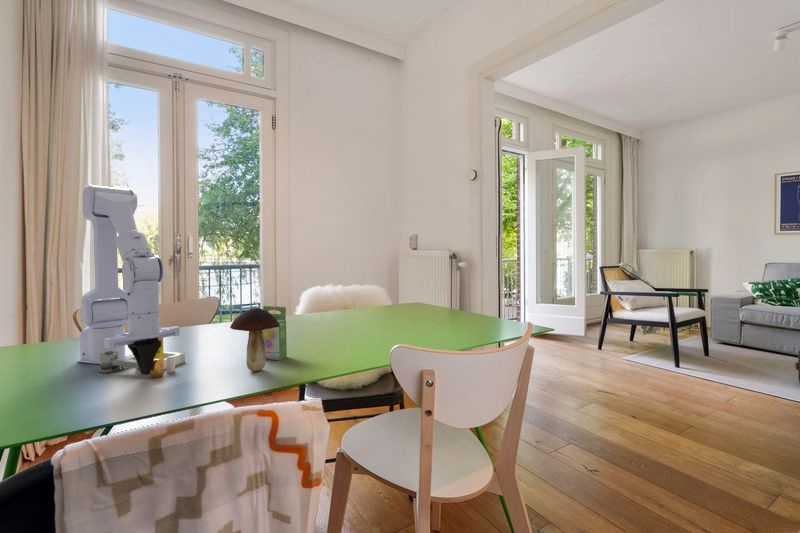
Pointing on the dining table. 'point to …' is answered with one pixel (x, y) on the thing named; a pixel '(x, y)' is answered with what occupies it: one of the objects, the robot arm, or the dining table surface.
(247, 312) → the decorative mushroom
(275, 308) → the ink box
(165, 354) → the socket
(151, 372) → the gold-tipped lever
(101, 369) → the mount
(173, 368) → the post
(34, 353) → the dining table surface
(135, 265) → the robot arm
